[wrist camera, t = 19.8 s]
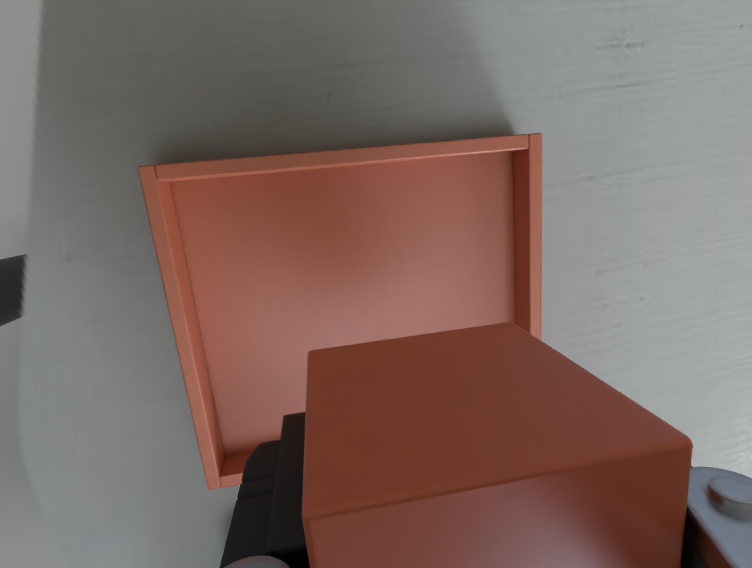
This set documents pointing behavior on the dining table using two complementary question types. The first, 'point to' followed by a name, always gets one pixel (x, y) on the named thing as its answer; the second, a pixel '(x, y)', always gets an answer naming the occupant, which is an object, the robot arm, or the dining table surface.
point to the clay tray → (334, 266)
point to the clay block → (484, 459)
